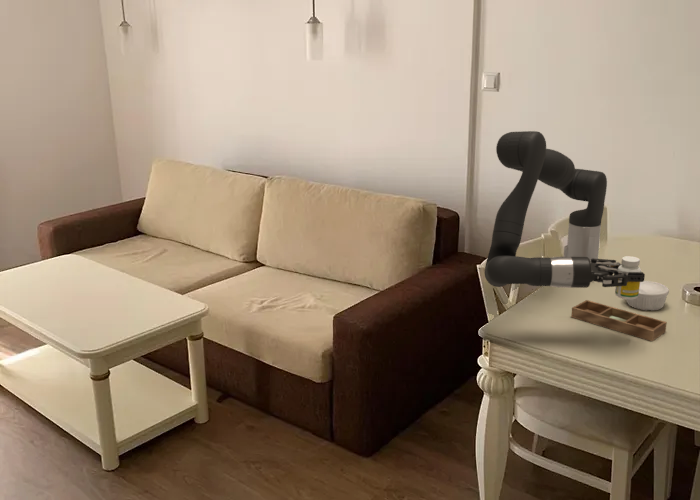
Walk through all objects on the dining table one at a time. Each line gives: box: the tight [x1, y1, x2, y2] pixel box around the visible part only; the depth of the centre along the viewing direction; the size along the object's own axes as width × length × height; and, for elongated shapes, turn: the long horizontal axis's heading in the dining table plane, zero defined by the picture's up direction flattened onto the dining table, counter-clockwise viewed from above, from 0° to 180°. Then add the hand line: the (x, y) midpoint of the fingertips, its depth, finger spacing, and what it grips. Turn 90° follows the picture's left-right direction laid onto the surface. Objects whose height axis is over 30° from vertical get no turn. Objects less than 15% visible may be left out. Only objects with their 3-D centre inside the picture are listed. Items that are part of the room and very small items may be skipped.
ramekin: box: [625, 280, 670, 311], centre depth 198 cm, size 11×11×5 cm
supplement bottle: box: [614, 255, 642, 300], centre depth 173 cm, size 5×5×10 cm
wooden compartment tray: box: [570, 299, 667, 342], centre depth 185 cm, size 22×8×3 cm, turn 44°
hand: (639, 272), depth 172 cm, fingers closed on supplement bottle, 5 cm apart
